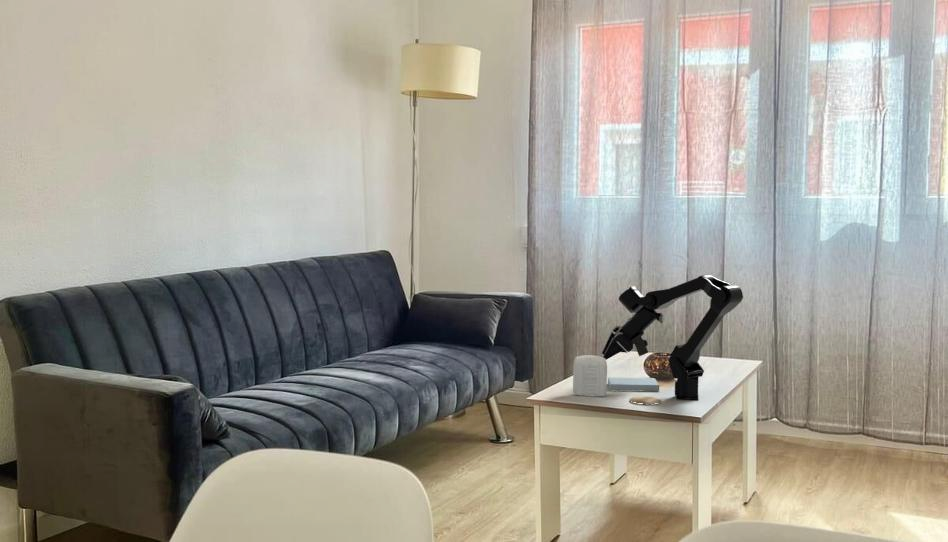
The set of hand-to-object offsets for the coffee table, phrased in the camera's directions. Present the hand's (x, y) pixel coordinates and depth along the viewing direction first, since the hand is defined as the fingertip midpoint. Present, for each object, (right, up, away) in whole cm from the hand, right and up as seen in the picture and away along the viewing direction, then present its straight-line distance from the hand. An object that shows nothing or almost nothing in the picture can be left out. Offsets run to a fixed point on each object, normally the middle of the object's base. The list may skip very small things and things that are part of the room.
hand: (603, 356), depth 291 cm
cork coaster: (+10, -12, -18) cm, 24 cm away
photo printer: (-5, -11, -9) cm, 15 cm away
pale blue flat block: (+10, -10, +2) cm, 14 cm away
